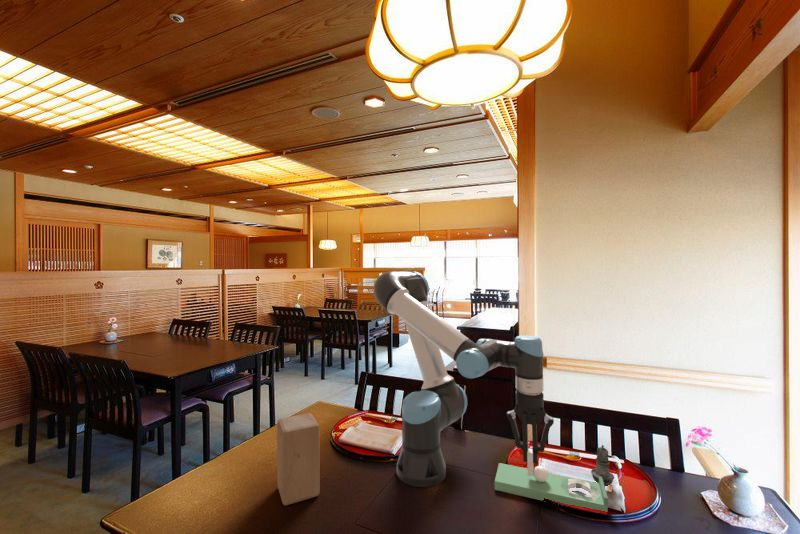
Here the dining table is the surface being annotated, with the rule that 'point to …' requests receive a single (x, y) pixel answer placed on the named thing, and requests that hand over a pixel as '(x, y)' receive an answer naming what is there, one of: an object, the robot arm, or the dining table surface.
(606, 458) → the dark grey figurine
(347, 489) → the dining table surface
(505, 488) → the green flat block
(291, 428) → the wooden block
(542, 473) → the ball
